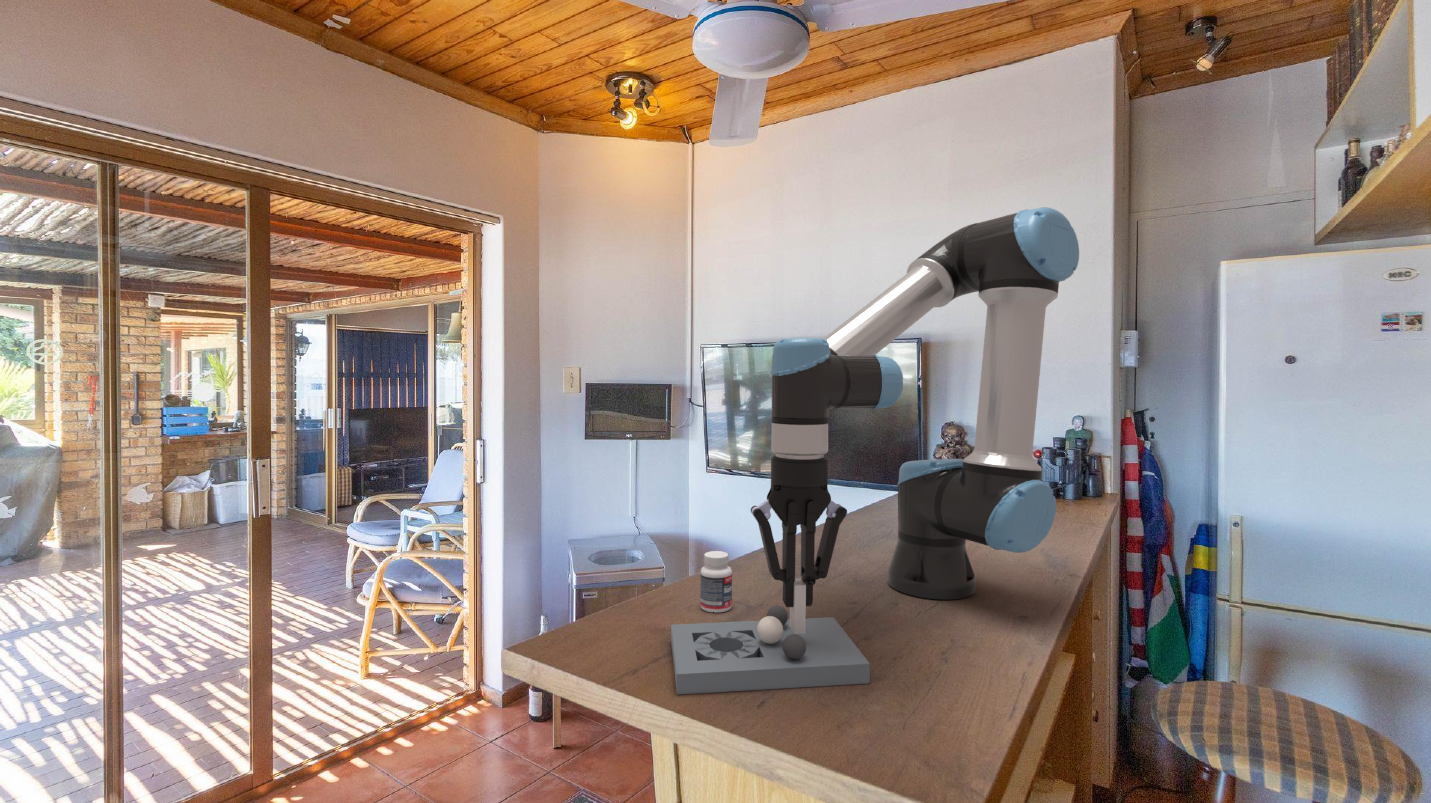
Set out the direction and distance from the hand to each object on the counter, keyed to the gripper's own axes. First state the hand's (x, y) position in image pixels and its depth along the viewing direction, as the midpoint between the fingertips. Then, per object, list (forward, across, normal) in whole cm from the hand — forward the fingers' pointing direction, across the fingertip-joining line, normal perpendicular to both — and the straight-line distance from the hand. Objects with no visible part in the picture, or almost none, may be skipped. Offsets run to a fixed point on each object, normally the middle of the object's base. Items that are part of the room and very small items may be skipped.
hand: (797, 629), depth 84 cm
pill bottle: (+4, +8, -20) cm, 22 cm away
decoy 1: (0, +2, -5) cm, 5 cm away
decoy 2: (0, +2, +5) cm, 5 cm away
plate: (+4, +5, 0) cm, 6 cm away
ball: (0, +4, 0) cm, 4 cm away
